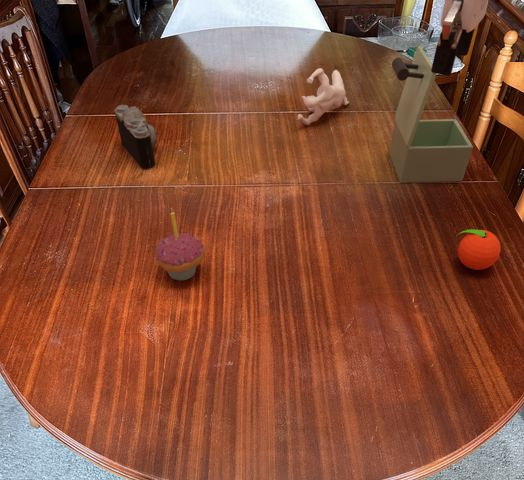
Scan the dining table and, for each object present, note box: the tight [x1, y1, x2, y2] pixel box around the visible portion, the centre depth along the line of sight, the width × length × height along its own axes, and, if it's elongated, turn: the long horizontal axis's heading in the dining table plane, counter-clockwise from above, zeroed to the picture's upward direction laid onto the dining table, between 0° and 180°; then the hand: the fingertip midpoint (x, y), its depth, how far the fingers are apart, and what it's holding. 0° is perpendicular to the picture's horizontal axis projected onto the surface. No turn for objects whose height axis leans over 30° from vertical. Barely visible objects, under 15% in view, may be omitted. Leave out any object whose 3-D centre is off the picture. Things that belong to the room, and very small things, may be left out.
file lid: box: [391, 45, 437, 146], centre depth 102 cm, size 14×13×6 cm
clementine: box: [457, 228, 501, 271], centre depth 89 cm, size 8×7×7 cm
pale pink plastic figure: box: [296, 68, 350, 126], centre depth 127 cm, size 13×13×18 cm
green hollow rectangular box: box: [388, 118, 474, 184], centre depth 111 cm, size 14×13×8 cm
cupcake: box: [154, 207, 205, 281], centre depth 86 cm, size 9×8×12 cm
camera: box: [114, 104, 158, 171], centre depth 115 cm, size 15×7×10 cm, turn 31°
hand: (449, 63), depth 85 cm, fingers open, 9 cm apart
